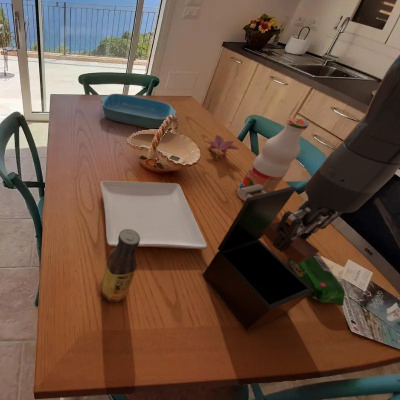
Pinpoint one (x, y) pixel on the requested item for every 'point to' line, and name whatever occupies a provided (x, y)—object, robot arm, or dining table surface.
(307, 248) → the chocolate bar
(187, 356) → the dining table surface
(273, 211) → the bin lid
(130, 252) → the sauce bottle
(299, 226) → the robot arm
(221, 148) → the lily
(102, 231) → the dining table surface
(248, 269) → the waste bin
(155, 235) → the square plate
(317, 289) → the snack package
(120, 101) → the casserole dish
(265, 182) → the fruit juice
